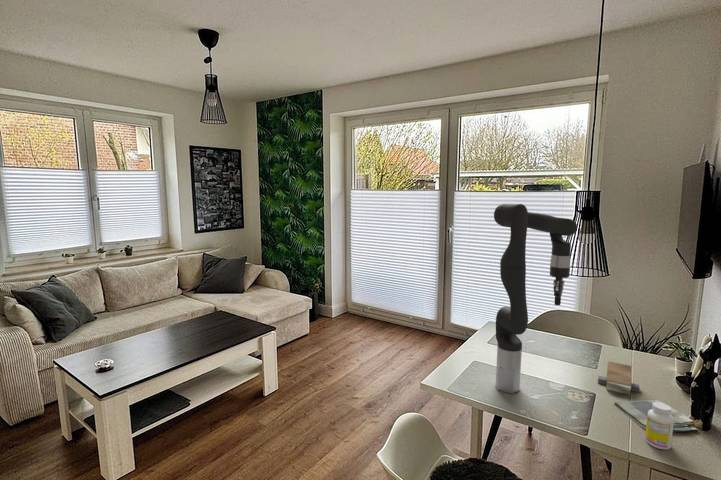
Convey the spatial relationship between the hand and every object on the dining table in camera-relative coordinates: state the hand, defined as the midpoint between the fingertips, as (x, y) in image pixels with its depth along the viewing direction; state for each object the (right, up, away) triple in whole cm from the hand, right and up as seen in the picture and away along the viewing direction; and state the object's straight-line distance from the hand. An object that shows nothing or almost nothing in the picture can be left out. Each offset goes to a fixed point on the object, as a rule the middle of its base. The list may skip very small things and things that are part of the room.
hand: (557, 304), depth 165 cm
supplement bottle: (+10, -37, -43) cm, 58 cm away
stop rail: (+21, -32, -8) cm, 39 cm away
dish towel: (+19, -36, -29) cm, 50 cm away
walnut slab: (+23, -25, -6) cm, 34 cm away
